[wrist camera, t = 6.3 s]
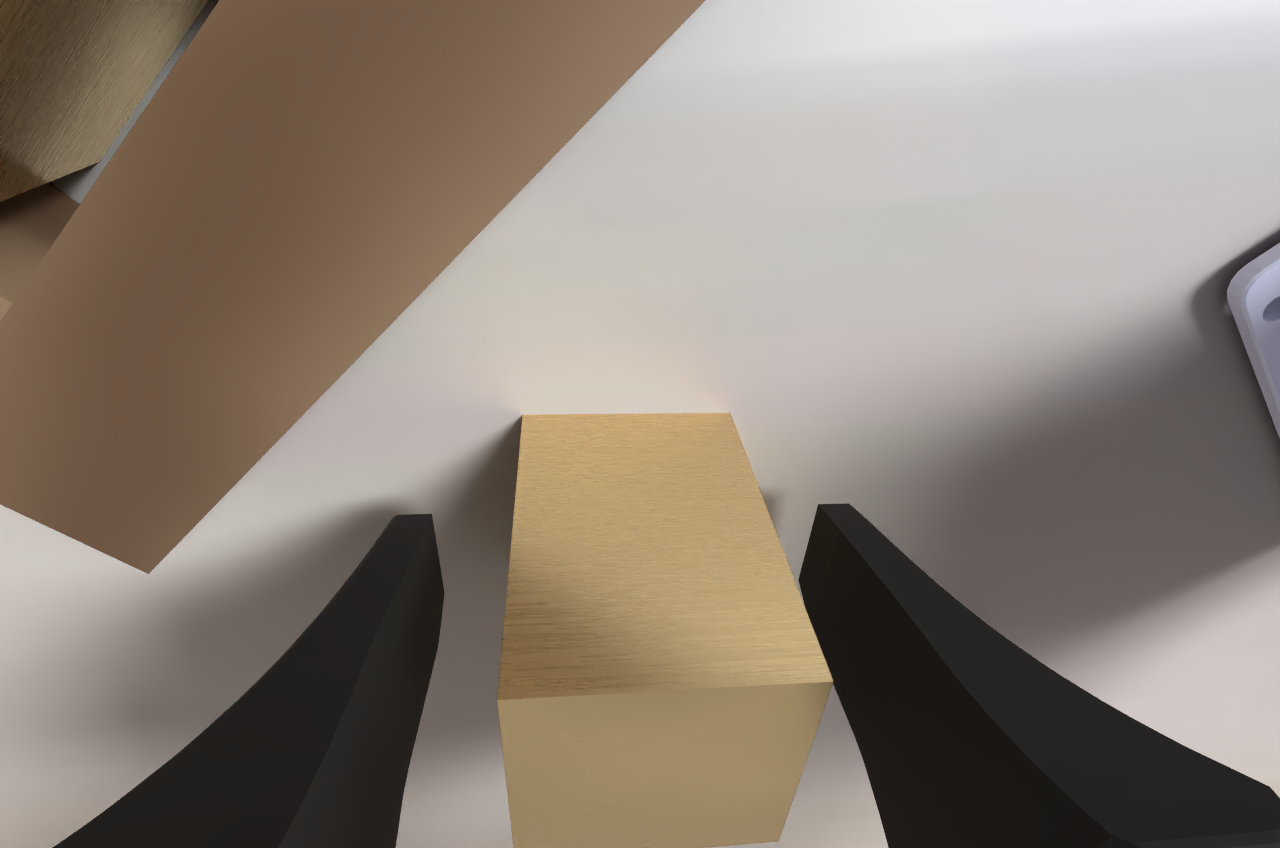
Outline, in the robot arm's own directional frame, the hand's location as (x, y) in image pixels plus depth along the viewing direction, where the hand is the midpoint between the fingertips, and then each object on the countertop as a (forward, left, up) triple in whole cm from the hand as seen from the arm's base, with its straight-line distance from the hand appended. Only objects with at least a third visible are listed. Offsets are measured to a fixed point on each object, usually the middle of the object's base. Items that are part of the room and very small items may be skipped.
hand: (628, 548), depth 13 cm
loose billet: (0, 0, -2) cm, 2 cm away
